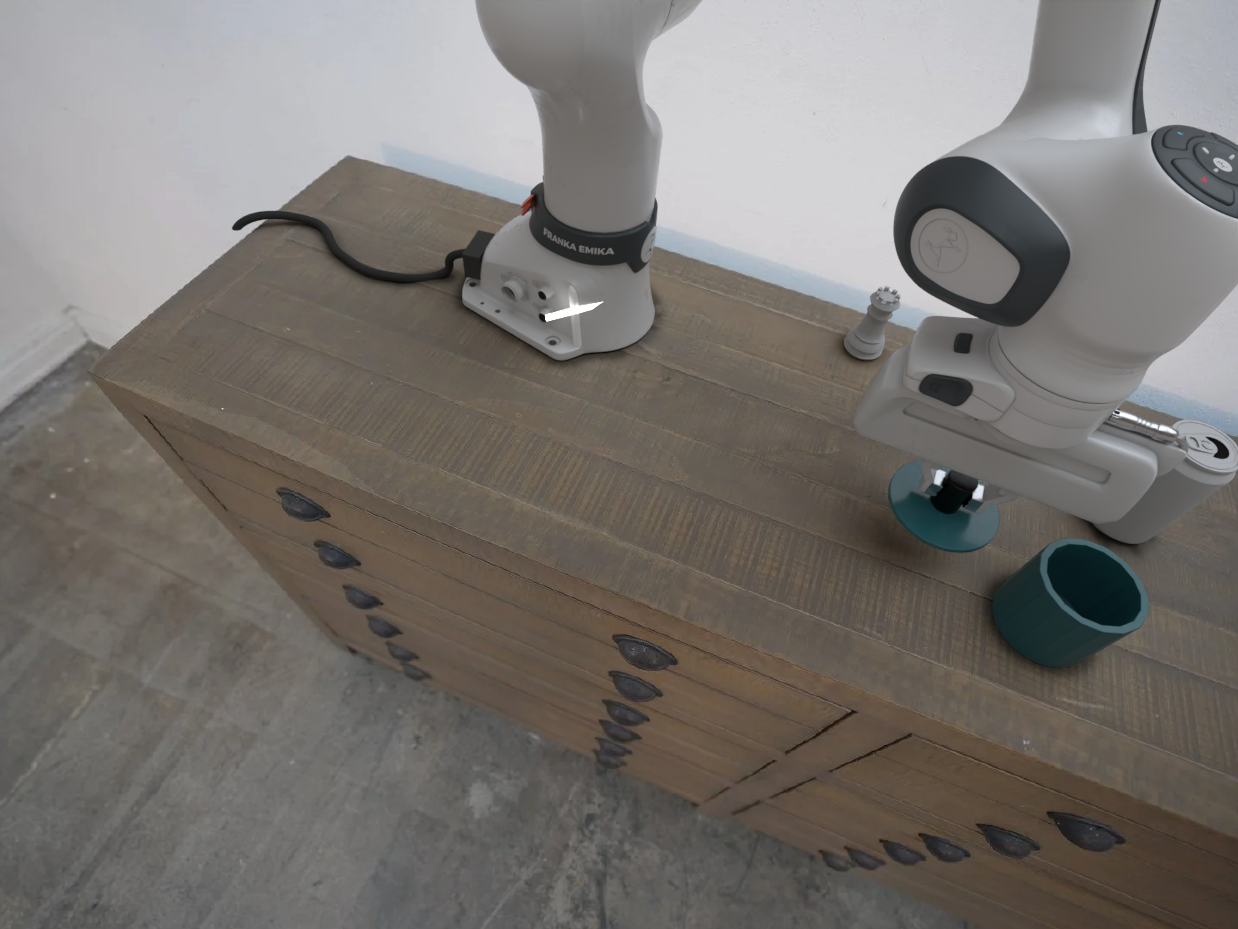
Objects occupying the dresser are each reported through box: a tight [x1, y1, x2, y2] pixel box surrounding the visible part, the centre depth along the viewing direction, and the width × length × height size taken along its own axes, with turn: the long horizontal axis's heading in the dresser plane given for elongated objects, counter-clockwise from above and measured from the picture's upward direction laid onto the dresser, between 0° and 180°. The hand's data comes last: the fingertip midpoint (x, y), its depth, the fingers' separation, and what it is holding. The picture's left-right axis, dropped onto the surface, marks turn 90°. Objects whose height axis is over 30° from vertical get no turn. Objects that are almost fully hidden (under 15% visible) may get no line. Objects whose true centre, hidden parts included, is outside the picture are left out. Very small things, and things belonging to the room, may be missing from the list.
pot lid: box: [887, 459, 1001, 554], centre depth 57 cm, size 9×9×5 cm
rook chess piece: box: [843, 285, 901, 361], centre depth 75 cm, size 4×4×8 cm
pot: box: [991, 537, 1150, 669], centre depth 56 cm, size 8×8×8 cm
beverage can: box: [1092, 419, 1238, 545], centre depth 62 cm, size 6×6×12 cm
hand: (948, 496), depth 57 cm, fingers closed on pot lid, 2 cm apart
